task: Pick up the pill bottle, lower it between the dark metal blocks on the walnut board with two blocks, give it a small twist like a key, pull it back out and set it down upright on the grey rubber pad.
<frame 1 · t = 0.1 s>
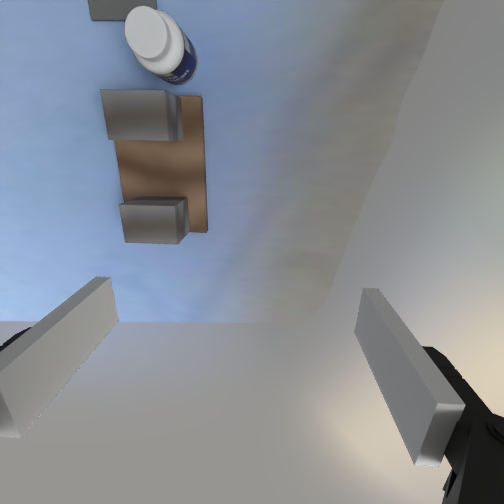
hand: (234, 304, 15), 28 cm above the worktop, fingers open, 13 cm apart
pill bottle: (177, 61, 35), on the worktop
board with two blocks: (163, 168, 39), on the worktop
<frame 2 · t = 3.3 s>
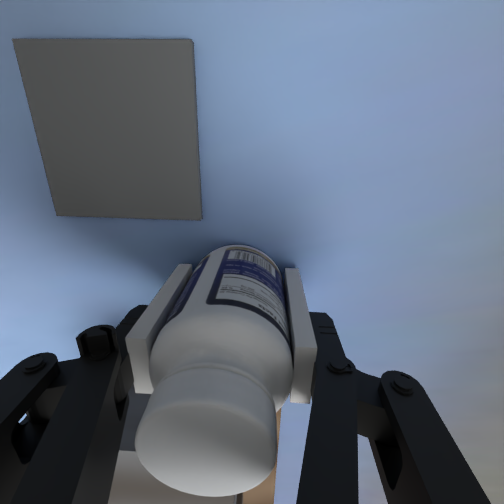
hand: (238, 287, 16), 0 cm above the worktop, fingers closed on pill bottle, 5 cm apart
pill bottle: (239, 282, 17), on the worktop, touching gripper
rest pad: (119, 138, 14), on the worktop
board with two blocks: (200, 429, 22), on the worktop
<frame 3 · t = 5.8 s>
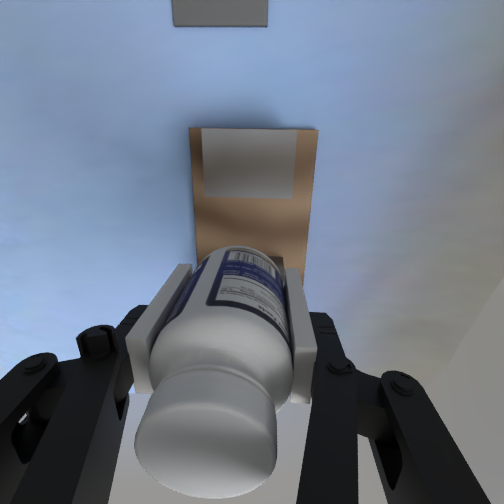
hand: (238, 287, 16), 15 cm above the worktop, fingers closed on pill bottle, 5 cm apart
pill bottle: (239, 283, 17), point 14 cm above the worktop, touching gripper
board with two blocks: (252, 219, 30), on the worktop
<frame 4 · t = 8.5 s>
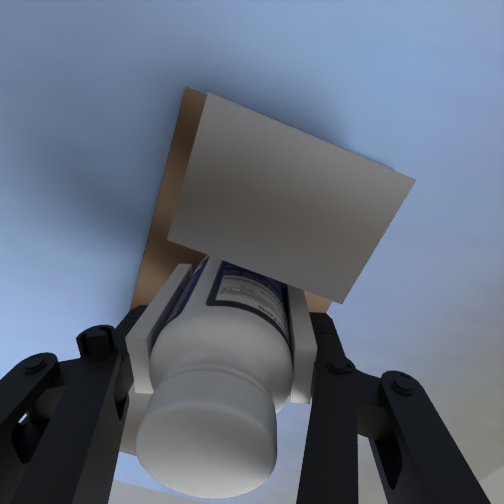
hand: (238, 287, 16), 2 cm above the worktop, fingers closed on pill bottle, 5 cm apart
pill bottle: (239, 283, 17), point 2 cm above the worktop, touching gripper
board with two blocks: (240, 272, 18), on the worktop
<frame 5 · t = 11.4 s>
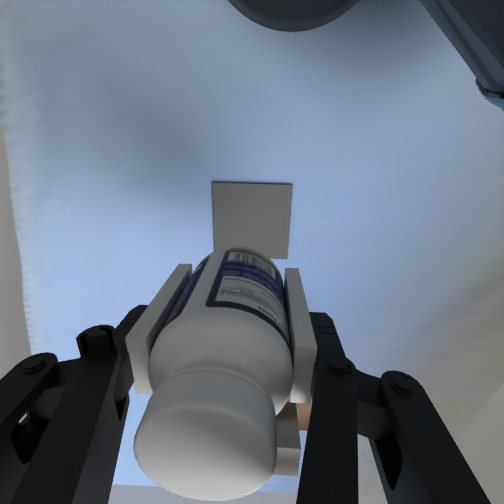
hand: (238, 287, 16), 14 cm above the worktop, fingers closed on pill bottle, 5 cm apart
pill bottle: (239, 284, 17), point 14 cm above the worktop, touching gripper
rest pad: (251, 221, 29), on the worktop
board with two blocks: (271, 373, 37), on the worktop
when the fingers open (2 cm above the worktop, at t = 13.8 s): pill bottle drops 1 cm, resting on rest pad.
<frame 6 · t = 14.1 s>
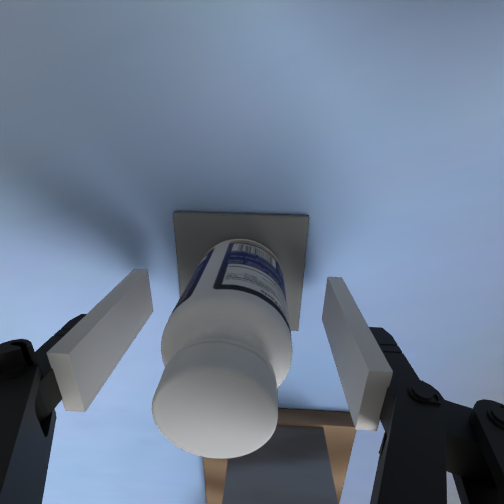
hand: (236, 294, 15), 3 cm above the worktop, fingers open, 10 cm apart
pill bottle: (241, 275, 18), resting on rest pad
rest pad: (240, 273, 18), on the worktop
board with two blocks: (272, 477, 26), on the worktop
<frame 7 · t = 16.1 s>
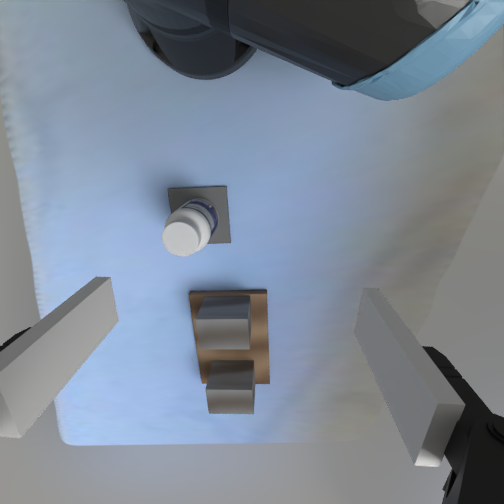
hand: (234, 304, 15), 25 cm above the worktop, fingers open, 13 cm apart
pill bottle: (200, 216, 39), resting on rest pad
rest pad: (200, 216, 39), on the worktop
board with two blocks: (232, 337, 46), on the worktop
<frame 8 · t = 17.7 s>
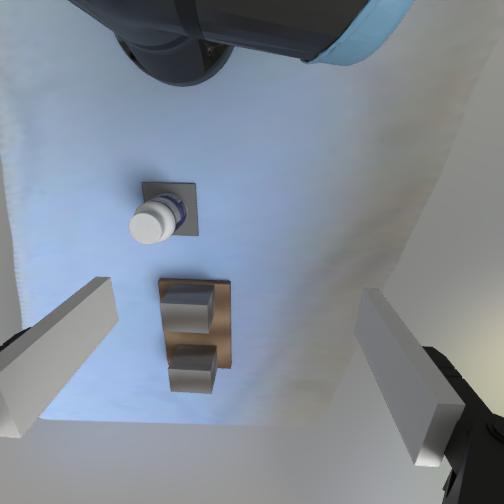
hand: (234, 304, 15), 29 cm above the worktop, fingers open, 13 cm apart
pill bottle: (171, 209, 42), resting on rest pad
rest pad: (171, 209, 42), on the worktop
board with two blocks: (198, 323, 50), on the worktop
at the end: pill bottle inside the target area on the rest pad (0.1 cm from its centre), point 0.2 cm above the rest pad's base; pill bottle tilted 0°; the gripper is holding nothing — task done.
